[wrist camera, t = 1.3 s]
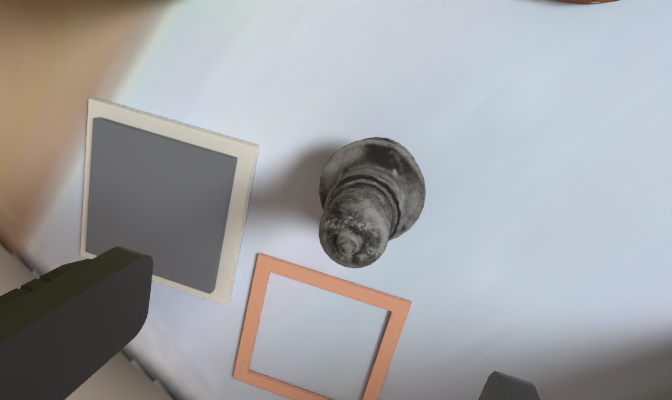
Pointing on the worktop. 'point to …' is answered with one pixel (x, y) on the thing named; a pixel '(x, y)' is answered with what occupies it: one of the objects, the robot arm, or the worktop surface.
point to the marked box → (270, 264)
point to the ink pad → (166, 196)
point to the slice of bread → (588, 1)
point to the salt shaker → (368, 200)
